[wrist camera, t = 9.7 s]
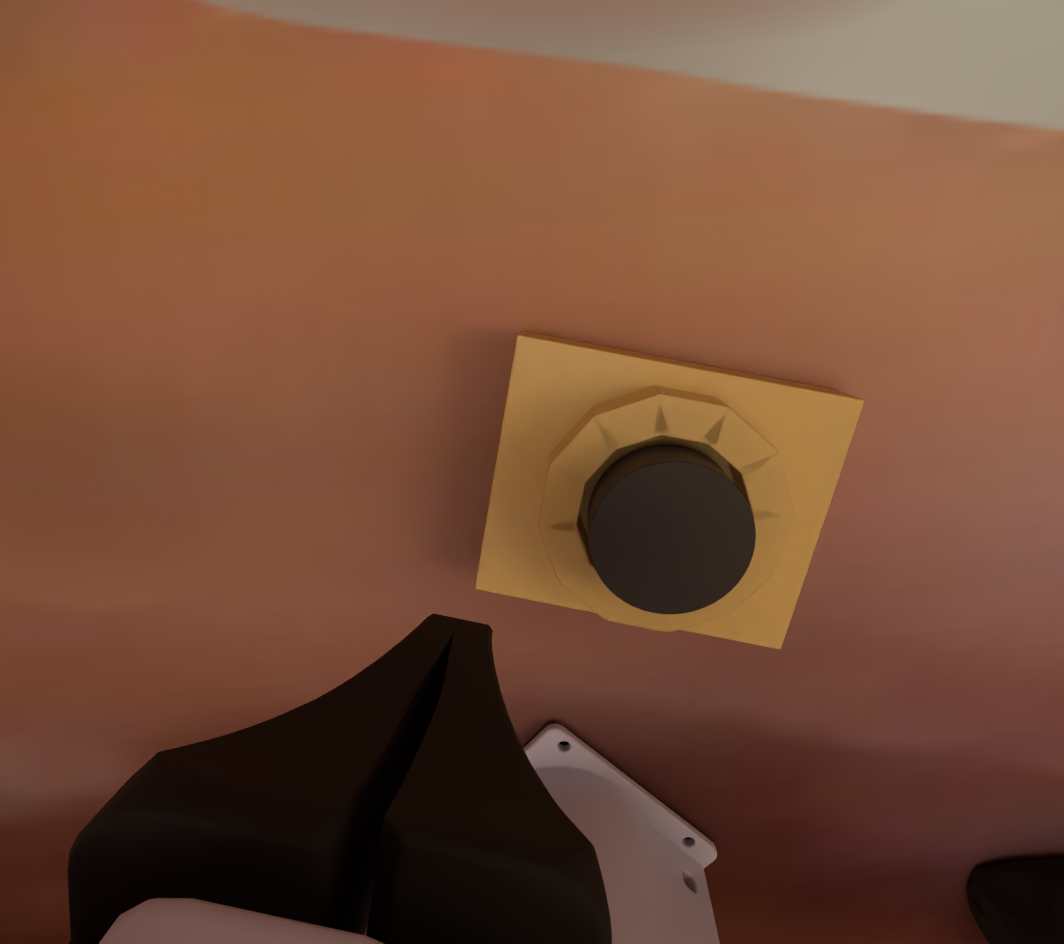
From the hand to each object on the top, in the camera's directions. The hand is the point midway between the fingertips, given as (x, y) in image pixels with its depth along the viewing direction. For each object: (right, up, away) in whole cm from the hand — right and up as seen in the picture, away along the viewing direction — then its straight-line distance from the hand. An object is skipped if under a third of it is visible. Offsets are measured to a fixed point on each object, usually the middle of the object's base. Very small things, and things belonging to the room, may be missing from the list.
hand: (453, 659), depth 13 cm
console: (+6, +4, +9) cm, 12 cm away
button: (+6, +3, +6) cm, 9 cm away
